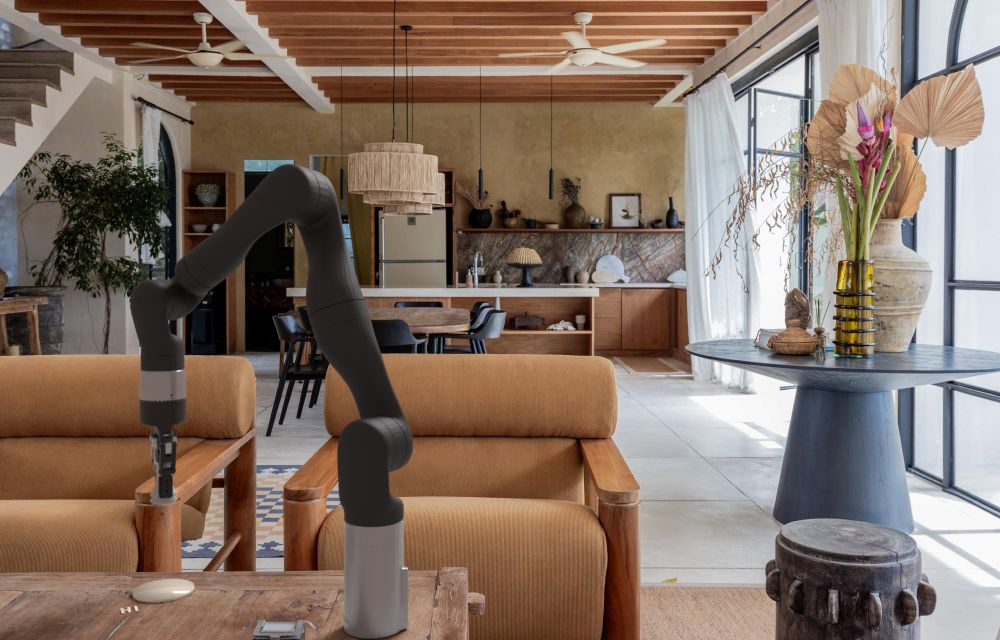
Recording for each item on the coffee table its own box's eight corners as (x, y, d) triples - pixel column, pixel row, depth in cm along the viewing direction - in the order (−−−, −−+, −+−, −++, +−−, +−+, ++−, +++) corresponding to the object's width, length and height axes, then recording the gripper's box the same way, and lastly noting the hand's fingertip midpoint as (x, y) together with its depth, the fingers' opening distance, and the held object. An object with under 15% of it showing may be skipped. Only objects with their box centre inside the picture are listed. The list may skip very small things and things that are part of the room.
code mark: (121, 613, 139) (121, 613, 139) (120, 608, 141) (120, 608, 141) (138, 611, 140) (138, 610, 140) (137, 606, 143) (136, 605, 143)
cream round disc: (189, 578, 156) (189, 575, 156) (198, 596, 147) (198, 593, 147) (129, 587, 151) (129, 584, 151) (135, 606, 142) (135, 603, 142)
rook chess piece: (167, 506, 146) (167, 459, 145) (144, 504, 147) (143, 458, 146) (182, 499, 150) (182, 454, 150) (159, 498, 151) (159, 453, 151)
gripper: (192, 399, 143) (193, 501, 144) (179, 390, 156) (180, 483, 156) (144, 402, 140) (145, 506, 140) (135, 392, 152) (135, 488, 153)
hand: (163, 494), depth 148 cm, fingers closed on rook chess piece, 4 cm apart
